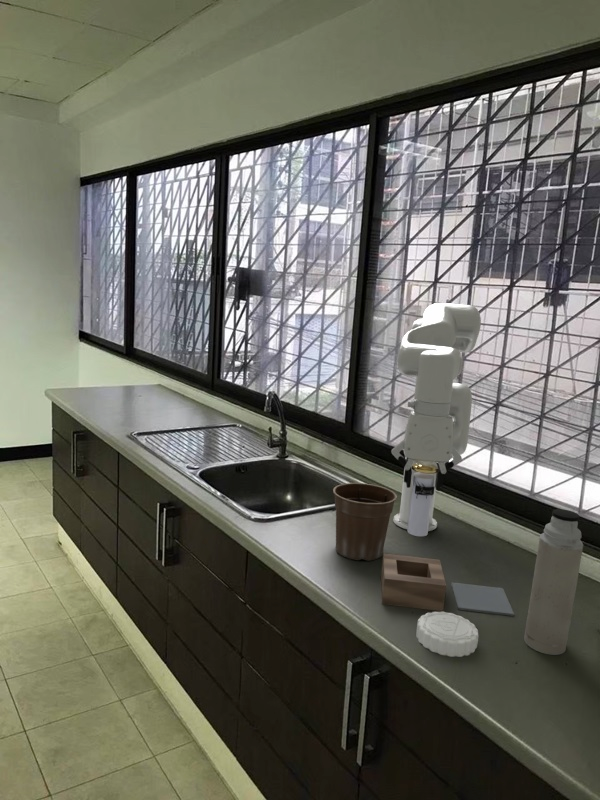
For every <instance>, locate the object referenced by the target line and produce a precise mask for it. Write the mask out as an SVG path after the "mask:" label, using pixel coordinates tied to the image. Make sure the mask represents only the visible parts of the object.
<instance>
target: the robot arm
mask: <svg viewBox="0 0 600 800" xmlns="http://www.w3.org/2000/svg"><path fill="white" fill-rule="evenodd" d="M480 314H481V313H480V312H479V310H478V308H477V307H476V306H473V305H471V304H459V303H447V302H436V303H433V304H430V305H429V306H427V307H426V309H425V310H424V311H423V315H422V318H417V320H415V321H414V322H412V325H411V330H409V331H407V332H406V333H405V334H404V336H403V337H402V339H401V341H400V344H399V348H398V353H397V369H398V371H399V372H400V374H401V375H402V376H405V377H411V378H416V379H415V386H414V387H415V388H414V395H413V396H414V397H413V398H414V399H413V400H408V401H407V408H411V409H412V411H410V414H409V416H408V419H407V424H406V426H405V432H404V434H405V435H404V438H403V440H402V441H400V442H399V443H398V444H396V446H394V447H393V448H392V449H391V451H390V452H391V454H392V456H394V458H395V459H396V460H397V461H398V462H399V463H400V465H401V466H402V467H403V468H404V470H403V477H402V478H403V481H402V488H401V497H400V507H399V513H397V514H395V515H394V516H393V522H394V524H395V525H396V526H397V527H399V528H401V529H404V530H407V529H408V520H409V511H410V502H411V493H412V484H413V475H414V473H416V471H414V470H413V469H412V464H414V463H419V462H418V460H420V461H430V462H433V464H432V465H434V466H436V467H438V472H437V473H433V474H432V475H434V484H433V487H434V486H435V488H434V495H432V501H431V510H430V518H429V527H428V532H432V531H433V530H435V529H437V527H438V522H437V520H436V519H435V518H433V516H434V506H435V500H436V499H435V498H436V491H438V492H439V491H440V489H441V487H443V486H444V480H445V474H446V473H447V472H448V471H449V470H450V469H452V468H453V467H454V466H455V465H457V464H458V463H460V462H461V461H462V460H463V457H462V455H463V454H464V453H465V452H466V450H467V447H468V443H469V442H468V441H469V433H470V425H471V424H470V422H471V415H472V405H473V399H472V398H473V396H472V389H471V387H469V386H468V385H467V384H464V383H458V382H454V380H455V379H456V378H458V376H459V375H460V374H461V373H462V370H463V365H464V357H463V355H461V353H470V352H471V351H472V350H474V349H475V346H476V343H477V340H478V337H479V334H480V330H481V327H482V326H481V325H482V321H481V320H482V318H481V315H480ZM402 450H403V454H404V456H403V455H402V454H401V453H400V452H401V451H402ZM437 463H438V464H437Z"/></svg>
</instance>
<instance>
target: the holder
mask: <svg viewBox="0 0 600 800" xmlns="http://www.w3.org/2000/svg"><path fill="white" fill-rule="evenodd" d="M380 586H381V588H380V590H381V605H389V606H396V607H397V606H398V607H406V608H411V609H412V608H415V609H420V610H421V609H423V610H431V611H436V612H442V611H443V612H444V605H445V598H446V597H445V596H446V590H447V583H446V580H445V576H444V571H443V568H442V564H441V559H436V558H428V557H420V556H419V557H418V556H410V555H409V556H408V555H402V554H401V555H400V554H391V553H384V552H383V554H382V563H381V574H380Z"/></svg>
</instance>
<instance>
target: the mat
mask: <svg viewBox="0 0 600 800" xmlns="http://www.w3.org/2000/svg"><path fill="white" fill-rule="evenodd" d="M450 585H451V588H452V593H453V597H454V599H455V603H456V608H457V610H458V611H459V610H460V611H468V612H474V613H475V612H476V613H477V612H478V613H485V614H493V615H501V616H502V615H503V616H509V617H514V616H515V613H514V611H513V608H512V605H511V604H510V602H509V601H510V600H509V599H508V597H507V596H508V595H507V594H506V592H505V589H504V588H503V587H498V586H486V585H479V584H478V585H477V584H470V583H469V584H467V583H460V582H451V583H450Z"/></svg>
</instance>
